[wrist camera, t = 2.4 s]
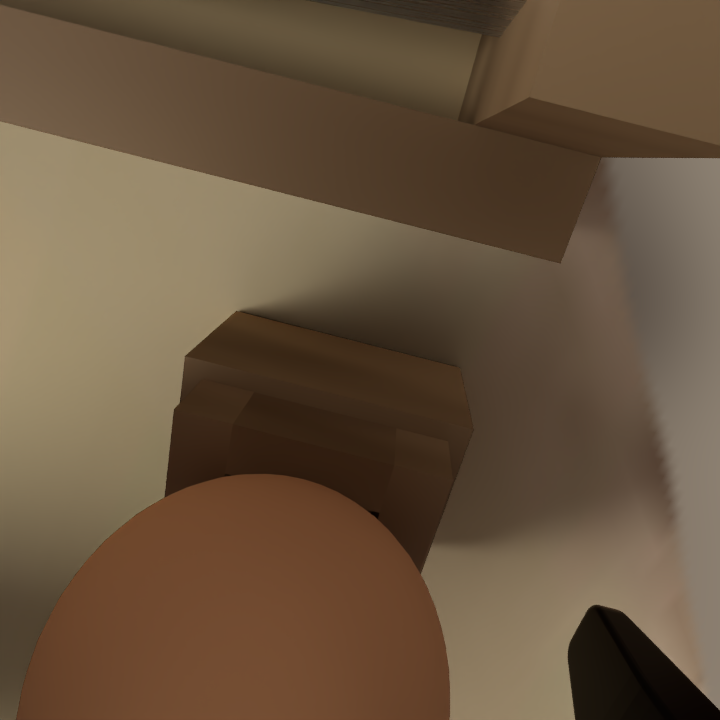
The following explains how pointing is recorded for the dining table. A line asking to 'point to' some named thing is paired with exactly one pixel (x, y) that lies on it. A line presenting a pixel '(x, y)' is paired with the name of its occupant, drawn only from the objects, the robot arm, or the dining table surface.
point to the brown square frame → (324, 421)
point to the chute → (443, 12)
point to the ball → (243, 615)
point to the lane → (377, 100)
